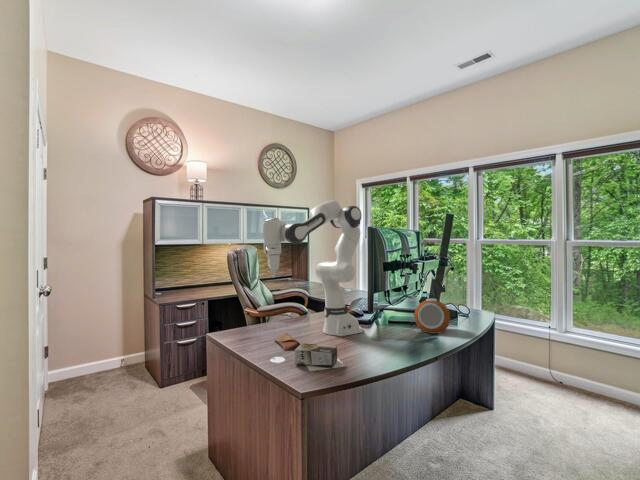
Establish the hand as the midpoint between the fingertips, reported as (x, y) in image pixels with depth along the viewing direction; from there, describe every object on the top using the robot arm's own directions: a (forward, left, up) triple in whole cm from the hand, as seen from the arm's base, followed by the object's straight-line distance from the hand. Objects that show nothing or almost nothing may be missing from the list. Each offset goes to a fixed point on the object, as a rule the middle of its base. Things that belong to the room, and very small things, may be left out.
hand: (273, 277), depth 166 cm
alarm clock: (-87, +8, -33) cm, 94 cm away
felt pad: (-15, +32, -33) cm, 49 cm away
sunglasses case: (-5, +6, -34) cm, 35 cm away
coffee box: (-6, +29, -30) cm, 42 cm away
